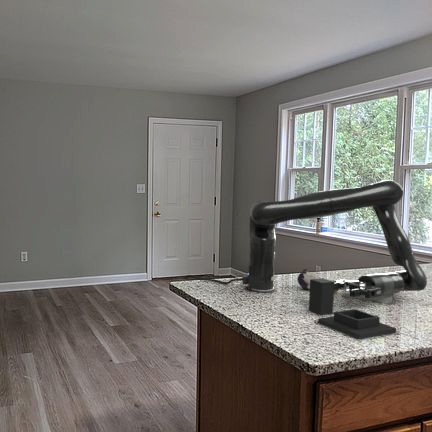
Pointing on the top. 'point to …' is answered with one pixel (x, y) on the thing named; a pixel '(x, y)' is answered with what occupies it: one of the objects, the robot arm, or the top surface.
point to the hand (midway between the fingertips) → (339, 290)
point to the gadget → (383, 299)
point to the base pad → (357, 324)
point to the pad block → (321, 296)
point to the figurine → (307, 279)
